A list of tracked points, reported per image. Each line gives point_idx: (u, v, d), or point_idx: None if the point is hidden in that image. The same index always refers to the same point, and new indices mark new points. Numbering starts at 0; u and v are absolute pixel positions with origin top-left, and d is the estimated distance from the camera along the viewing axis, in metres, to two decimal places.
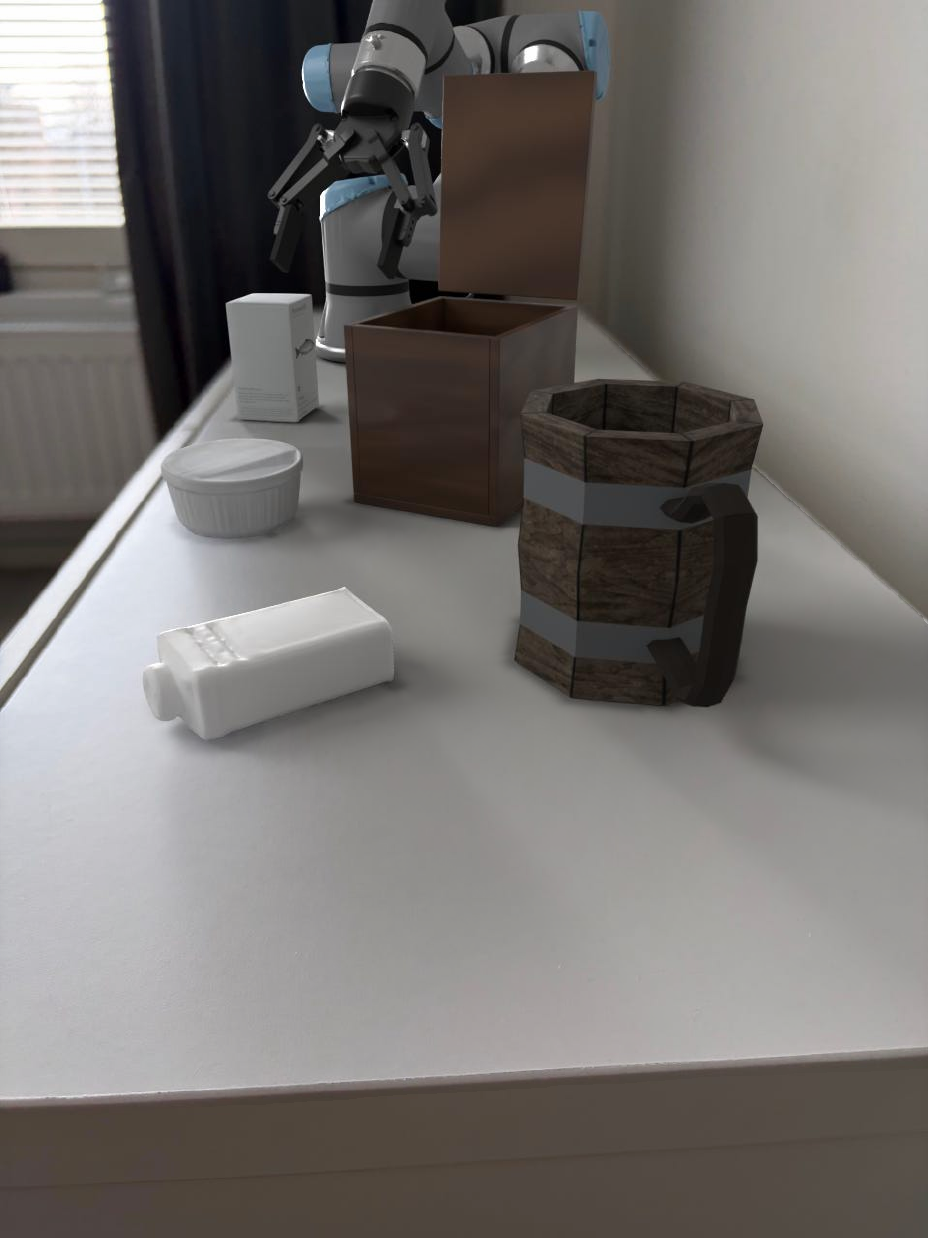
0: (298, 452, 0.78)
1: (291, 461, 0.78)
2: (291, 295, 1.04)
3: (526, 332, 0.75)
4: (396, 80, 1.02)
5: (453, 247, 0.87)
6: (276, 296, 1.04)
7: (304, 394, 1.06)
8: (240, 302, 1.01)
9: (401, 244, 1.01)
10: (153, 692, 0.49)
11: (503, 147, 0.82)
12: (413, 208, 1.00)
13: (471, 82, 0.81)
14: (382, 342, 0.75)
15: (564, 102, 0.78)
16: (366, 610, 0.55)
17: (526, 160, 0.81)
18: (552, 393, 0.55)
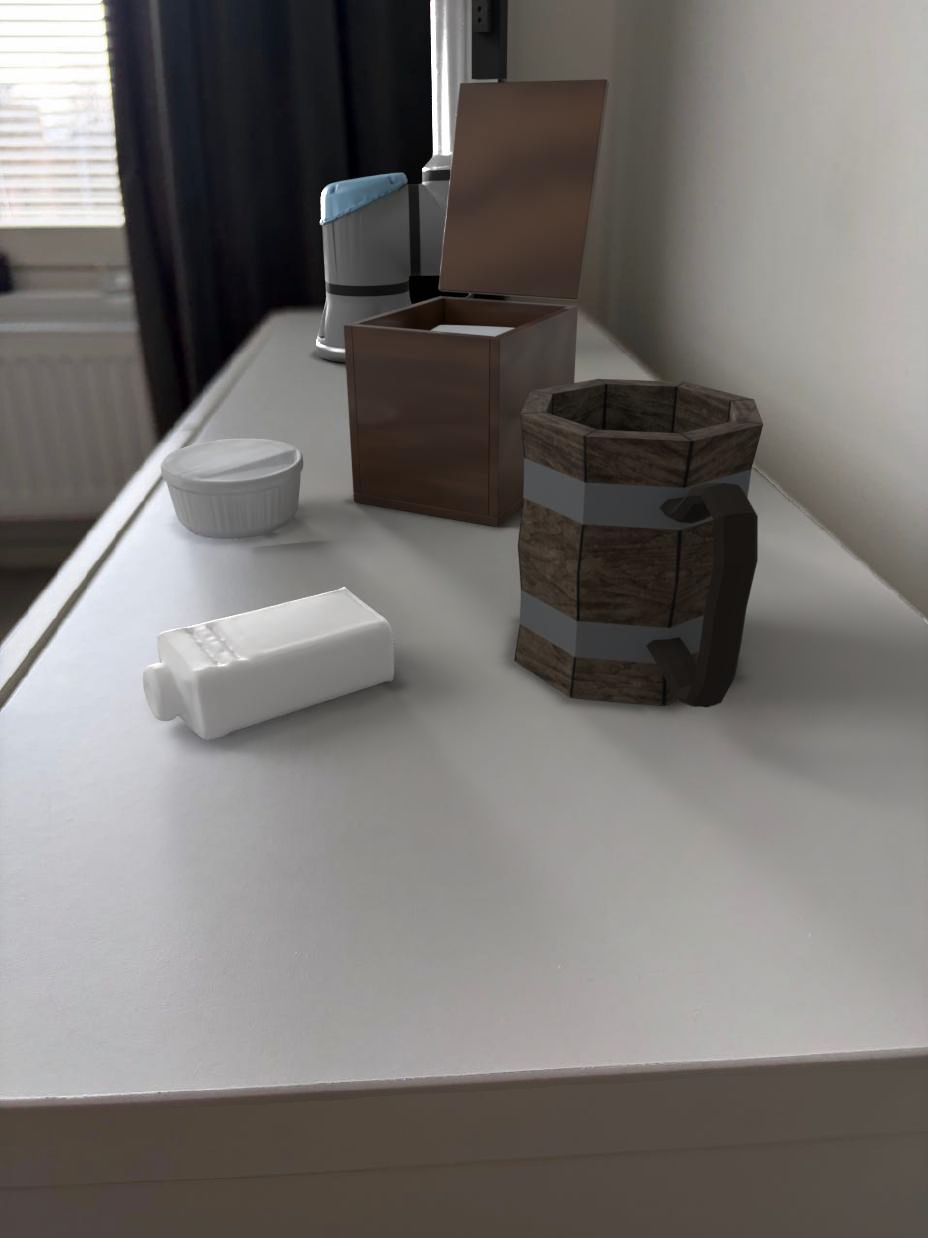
0: (298, 452, 0.78)
1: (291, 461, 0.78)
2: (492, 329, 0.82)
3: (526, 332, 0.75)
4: None
5: (456, 247, 0.87)
6: (474, 330, 0.81)
7: None
8: None
9: (487, 32, 0.81)
10: (153, 692, 0.49)
11: (513, 151, 0.84)
12: None
13: (486, 89, 0.84)
14: (382, 342, 0.75)
15: (575, 108, 0.81)
16: (366, 610, 0.55)
17: (535, 162, 0.83)
18: (552, 393, 0.55)
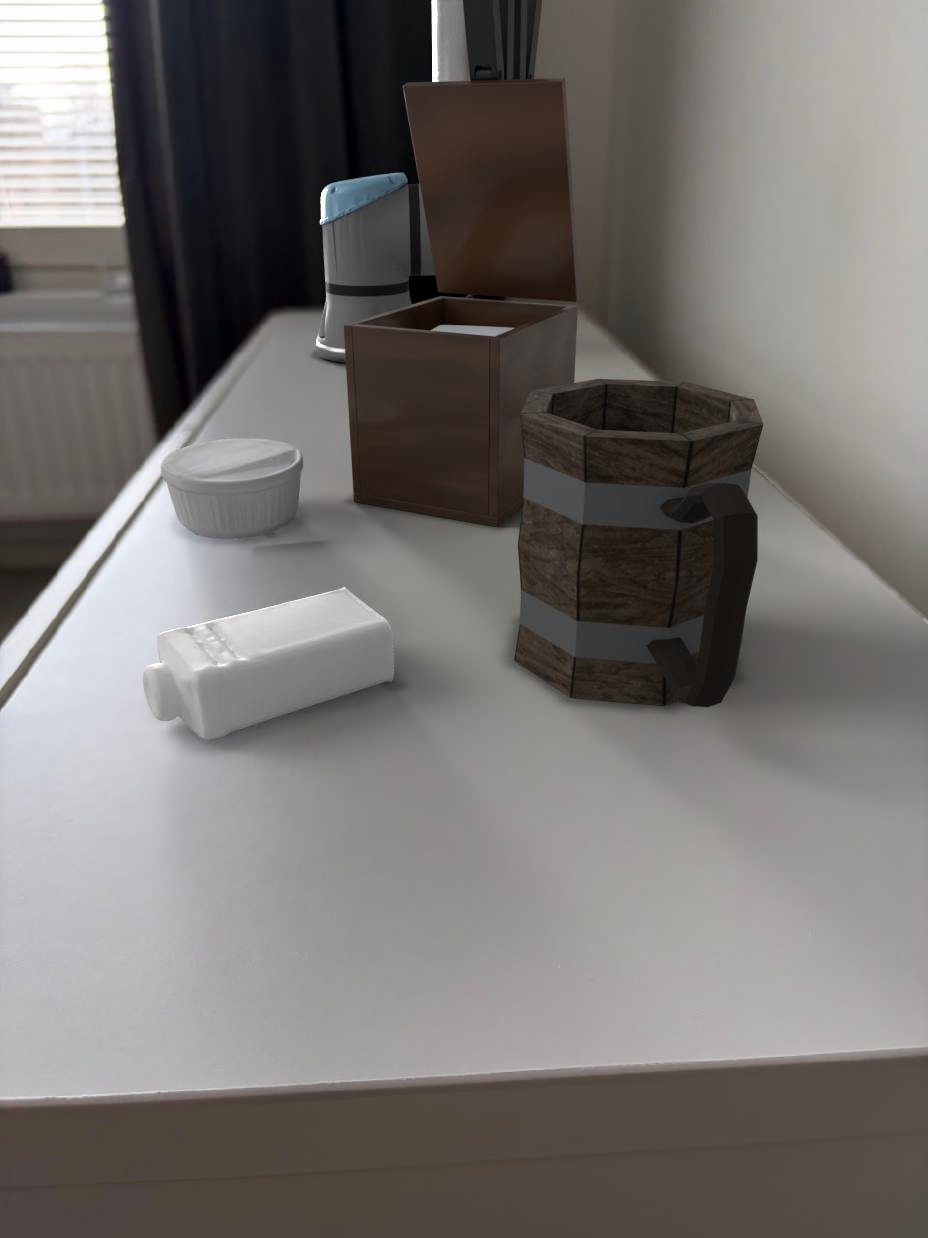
0: (298, 452, 0.78)
1: (291, 461, 0.78)
2: (493, 329, 0.82)
3: (526, 332, 0.75)
4: None
5: (445, 253, 0.86)
6: (474, 330, 0.81)
7: None
8: None
9: None
10: (153, 692, 0.49)
11: (479, 158, 0.78)
12: None
13: (433, 93, 0.76)
14: (382, 342, 0.75)
15: (535, 114, 0.74)
16: (366, 610, 0.55)
17: (504, 171, 0.78)
18: (552, 393, 0.55)
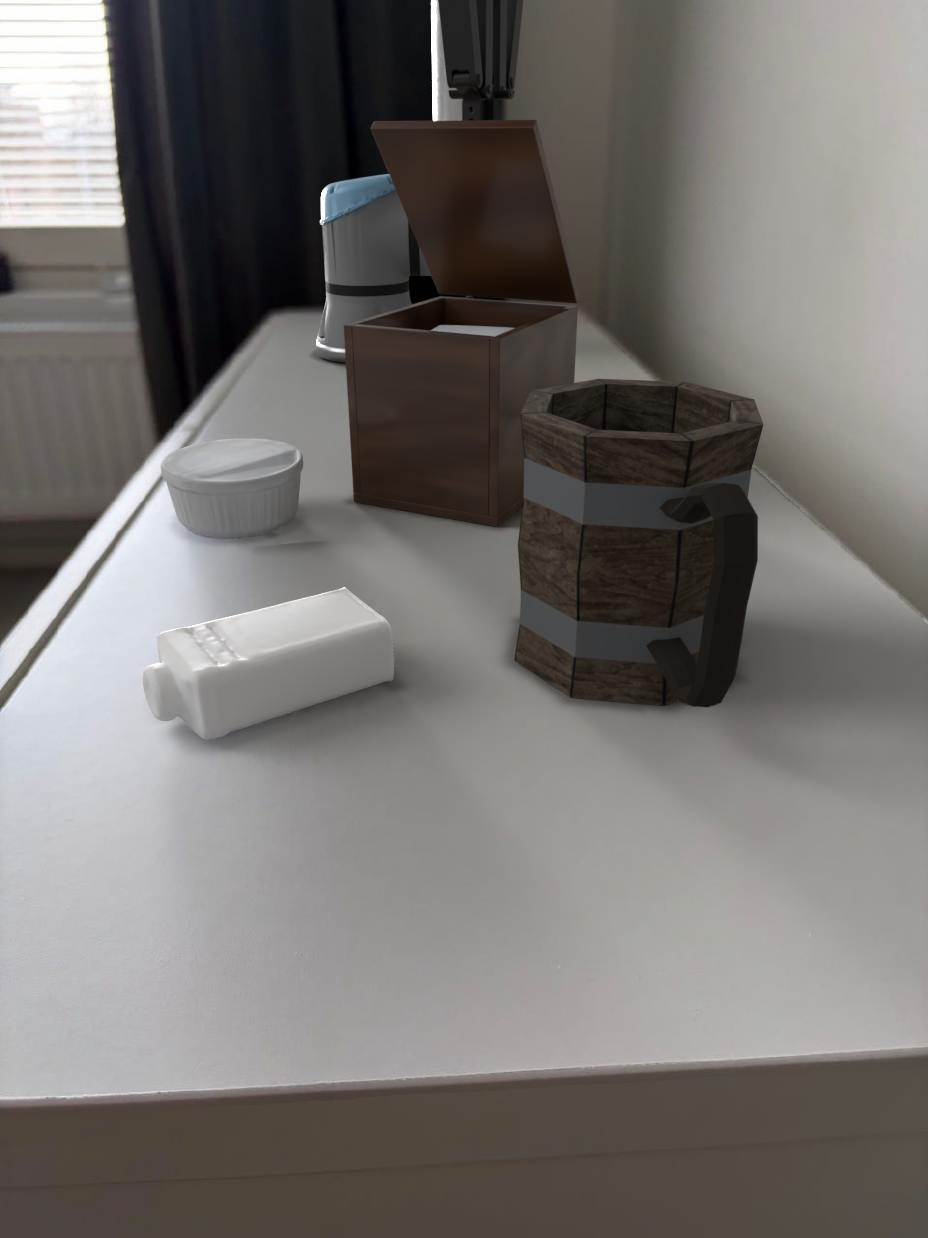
0: (298, 452, 0.78)
1: (291, 461, 0.78)
2: (492, 329, 0.82)
3: (526, 332, 0.75)
4: None
5: (440, 263, 0.85)
6: (474, 330, 0.81)
7: None
8: None
9: None
10: (153, 692, 0.49)
11: (459, 189, 0.76)
12: None
13: (403, 135, 0.73)
14: (382, 342, 0.75)
15: (510, 154, 0.71)
16: (366, 610, 0.55)
17: (487, 199, 0.76)
18: (552, 393, 0.55)
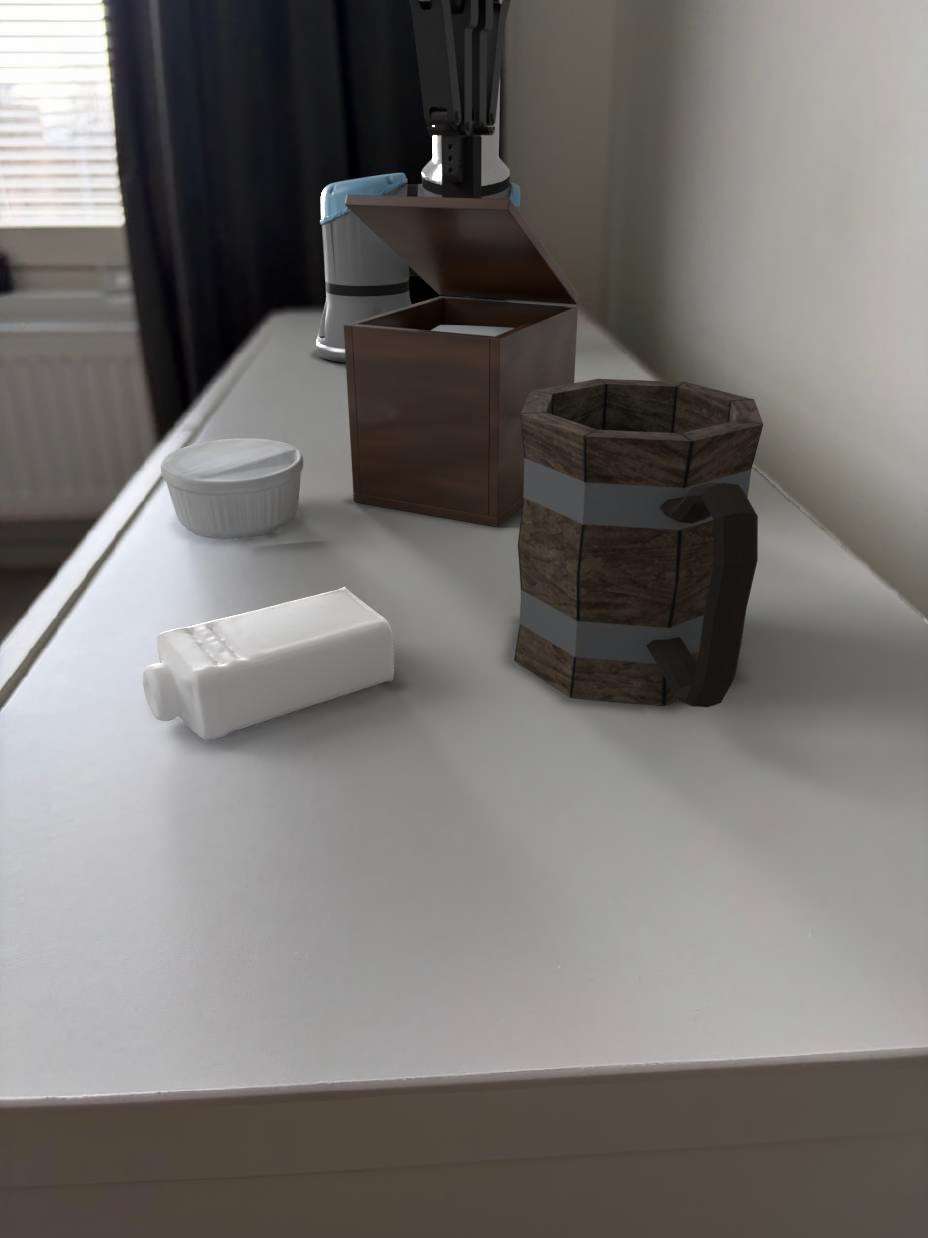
0: (298, 452, 0.78)
1: (291, 461, 0.78)
2: (493, 329, 0.82)
3: (526, 332, 0.75)
4: None
5: (436, 279, 0.85)
6: (474, 330, 0.81)
7: None
8: None
9: None
10: (153, 692, 0.49)
11: (444, 240, 0.76)
12: None
13: (379, 210, 0.73)
14: (382, 342, 0.75)
15: (489, 223, 0.71)
16: (366, 610, 0.55)
17: (473, 247, 0.76)
18: (552, 393, 0.55)
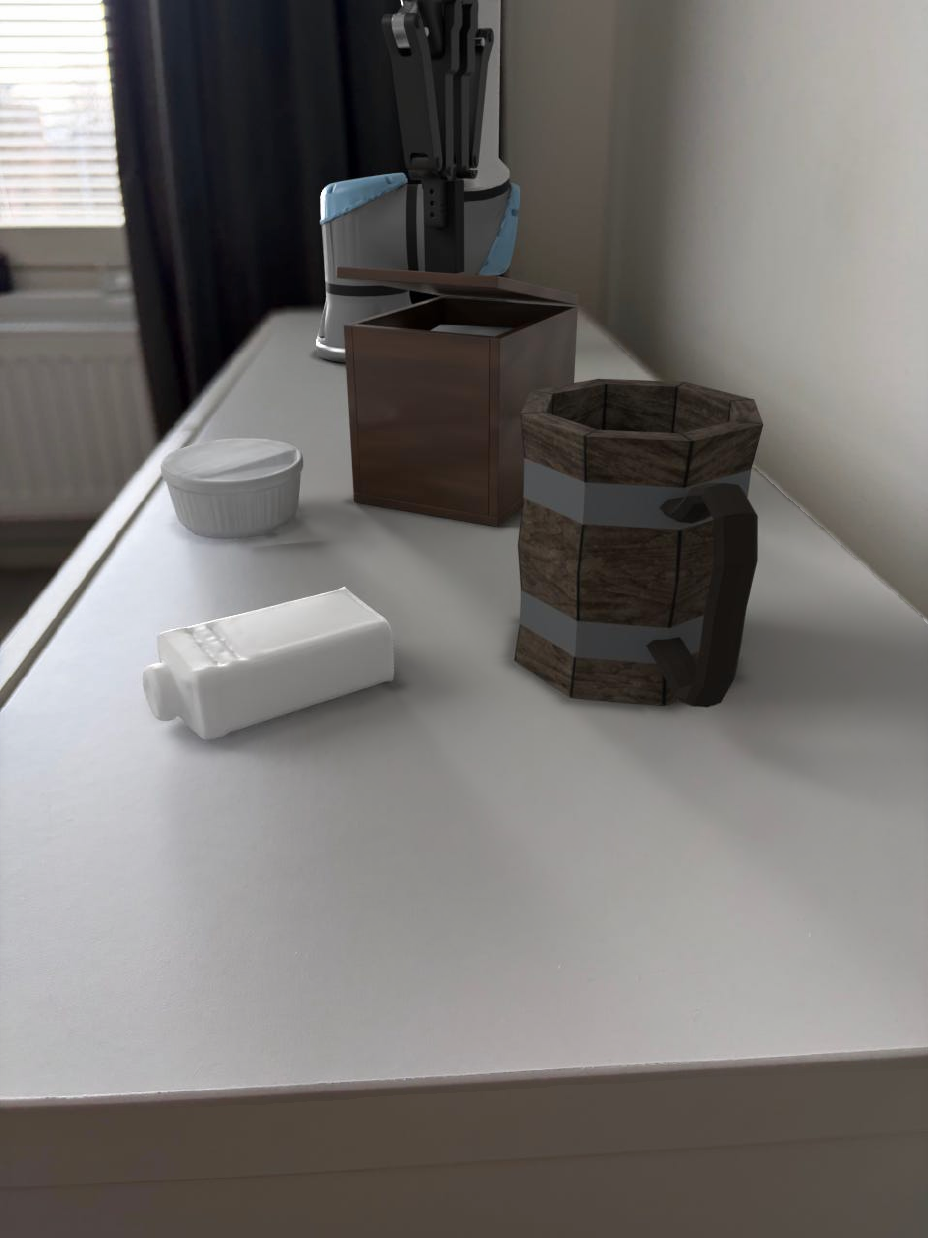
0: (298, 452, 0.78)
1: (291, 461, 0.78)
2: (493, 329, 0.82)
3: (526, 332, 0.75)
4: None
5: (435, 293, 0.85)
6: (474, 330, 0.81)
7: None
8: None
9: None
10: (153, 692, 0.49)
11: (438, 288, 0.76)
12: None
13: (370, 280, 0.73)
14: (382, 342, 0.75)
15: (480, 289, 0.71)
16: (366, 610, 0.55)
17: (467, 291, 0.76)
18: (552, 393, 0.55)
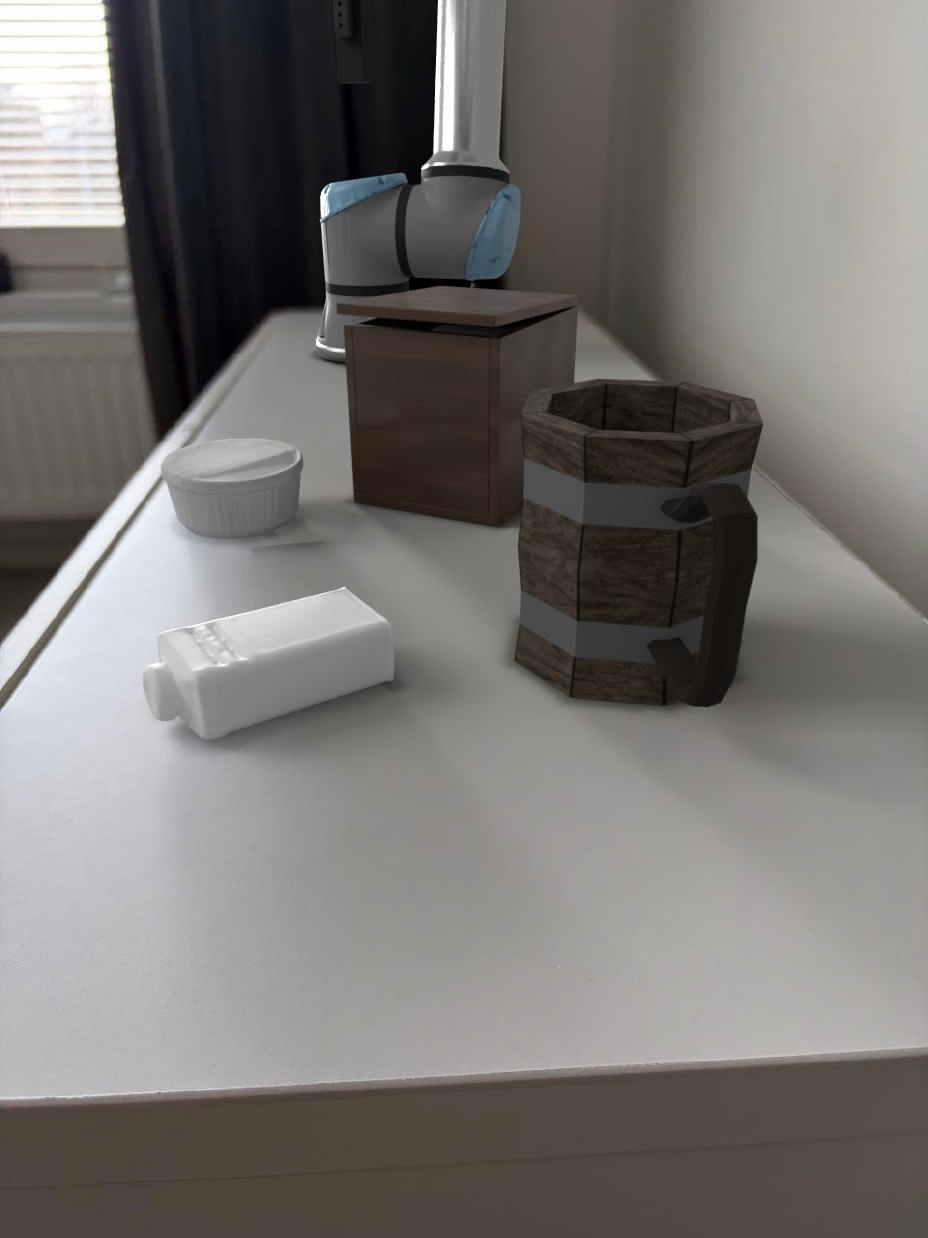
0: (298, 452, 0.78)
1: (291, 461, 0.78)
2: (493, 329, 0.82)
3: (526, 332, 0.75)
4: None
5: None
6: (474, 330, 0.81)
7: None
8: None
9: (350, 37, 0.84)
10: (153, 692, 0.49)
11: None
12: None
13: None
14: (382, 342, 0.75)
15: None
16: (366, 610, 0.55)
17: None
18: (552, 393, 0.55)
